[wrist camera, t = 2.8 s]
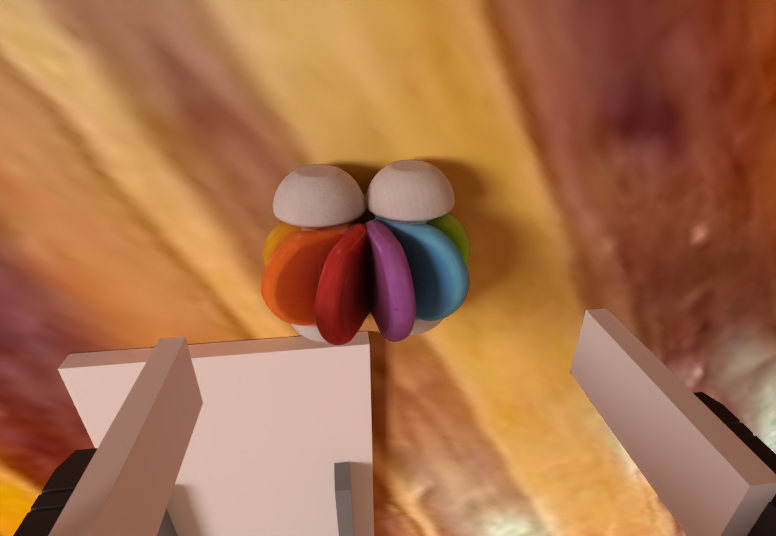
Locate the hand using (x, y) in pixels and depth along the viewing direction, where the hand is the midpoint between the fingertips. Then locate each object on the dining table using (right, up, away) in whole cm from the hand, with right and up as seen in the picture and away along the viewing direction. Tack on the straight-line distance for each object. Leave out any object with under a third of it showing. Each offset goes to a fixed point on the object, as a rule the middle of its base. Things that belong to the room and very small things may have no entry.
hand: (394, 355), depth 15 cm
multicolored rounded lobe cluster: (-2, +5, +8) cm, 9 cm away
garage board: (-9, -11, +15) cm, 21 cm away
